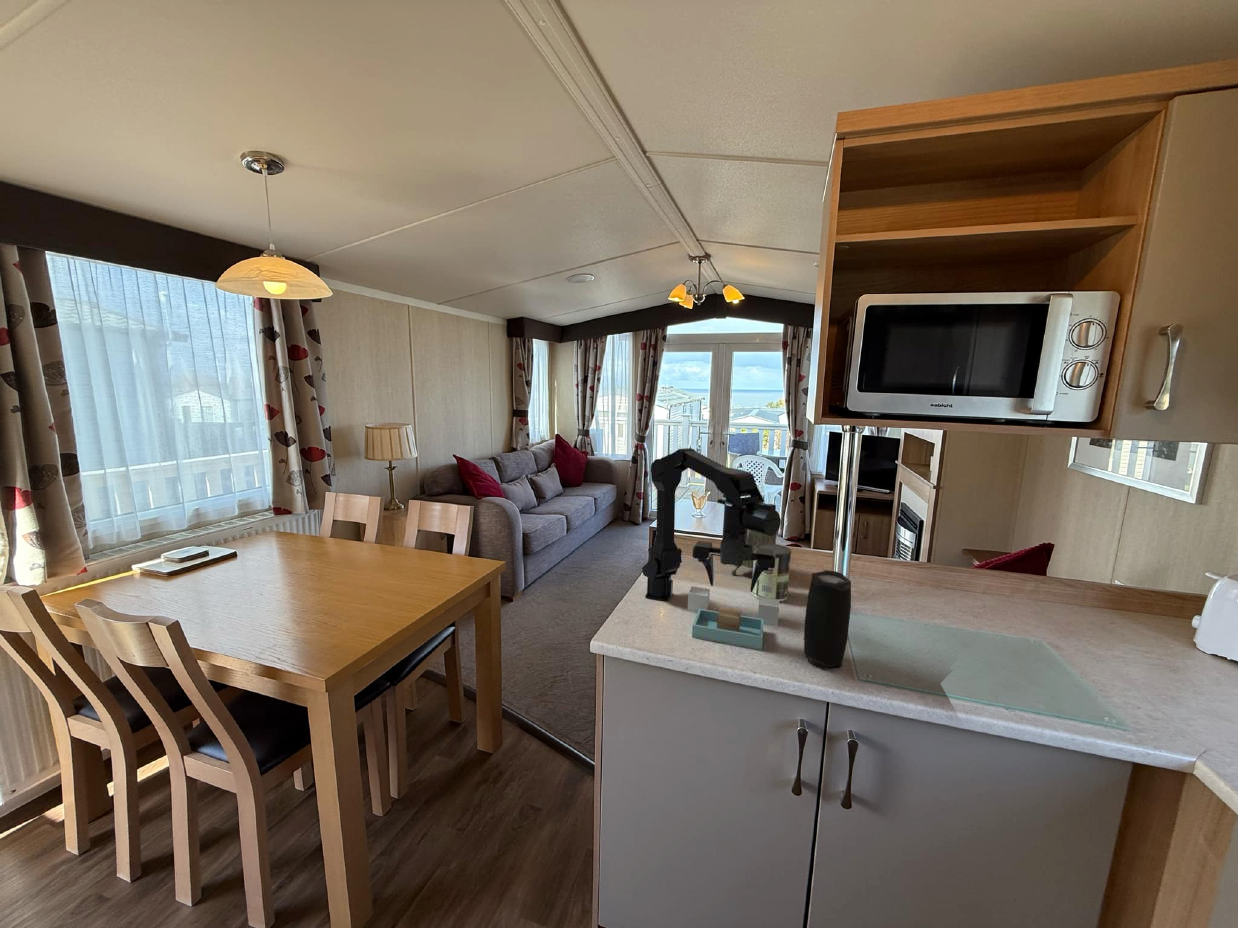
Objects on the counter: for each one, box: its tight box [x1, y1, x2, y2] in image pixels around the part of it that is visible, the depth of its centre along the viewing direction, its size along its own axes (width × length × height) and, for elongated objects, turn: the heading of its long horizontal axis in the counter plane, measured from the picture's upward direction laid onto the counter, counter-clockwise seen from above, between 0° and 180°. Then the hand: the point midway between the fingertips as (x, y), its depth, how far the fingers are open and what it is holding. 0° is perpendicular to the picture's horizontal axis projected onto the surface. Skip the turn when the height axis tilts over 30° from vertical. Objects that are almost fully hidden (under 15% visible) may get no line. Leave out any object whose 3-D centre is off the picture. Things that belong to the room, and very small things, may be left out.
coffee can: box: [751, 543, 792, 603], centre depth 140 cm, size 10×10×14 cm
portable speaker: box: [803, 569, 852, 670], centre depth 105 cm, size 9×9×20 cm
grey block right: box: [757, 597, 780, 627], centre depth 125 cm, size 5×5×5 cm
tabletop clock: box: [730, 530, 777, 576], centre depth 155 cm, size 14×9×25 cm, turn 130°
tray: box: [691, 609, 764, 651], centre depth 117 cm, size 16×10×3 cm, turn 72°
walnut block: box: [717, 605, 742, 632], centre depth 117 cm, size 5×5×5 cm
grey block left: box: [687, 586, 711, 613], centre depth 130 cm, size 5×5×5 cm
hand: (731, 588), depth 115 cm, fingers open, 9 cm apart
